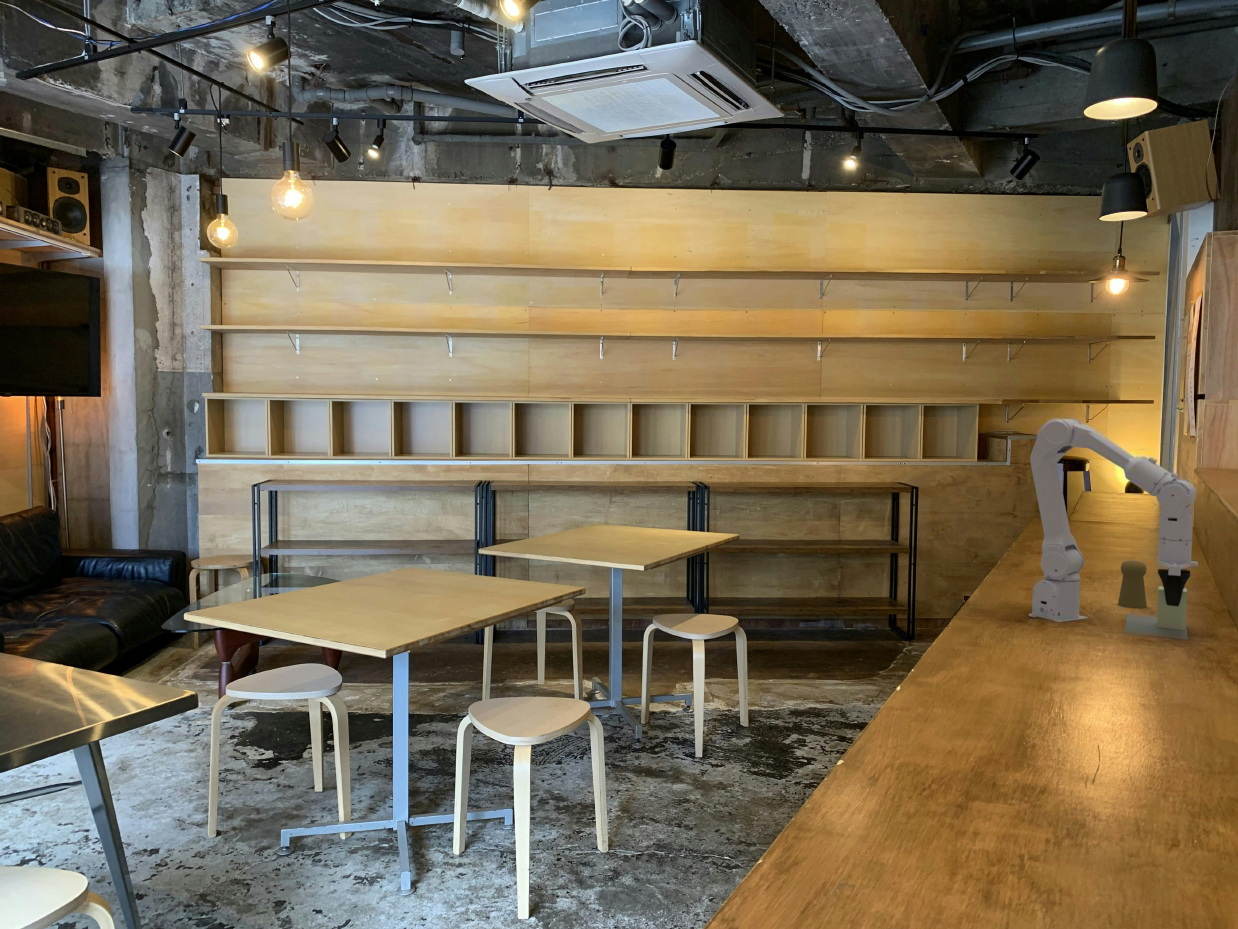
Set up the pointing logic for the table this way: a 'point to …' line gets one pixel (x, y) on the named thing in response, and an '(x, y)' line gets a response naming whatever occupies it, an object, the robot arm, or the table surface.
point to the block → (1171, 612)
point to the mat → (1151, 627)
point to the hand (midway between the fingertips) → (1172, 605)
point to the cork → (1133, 585)
